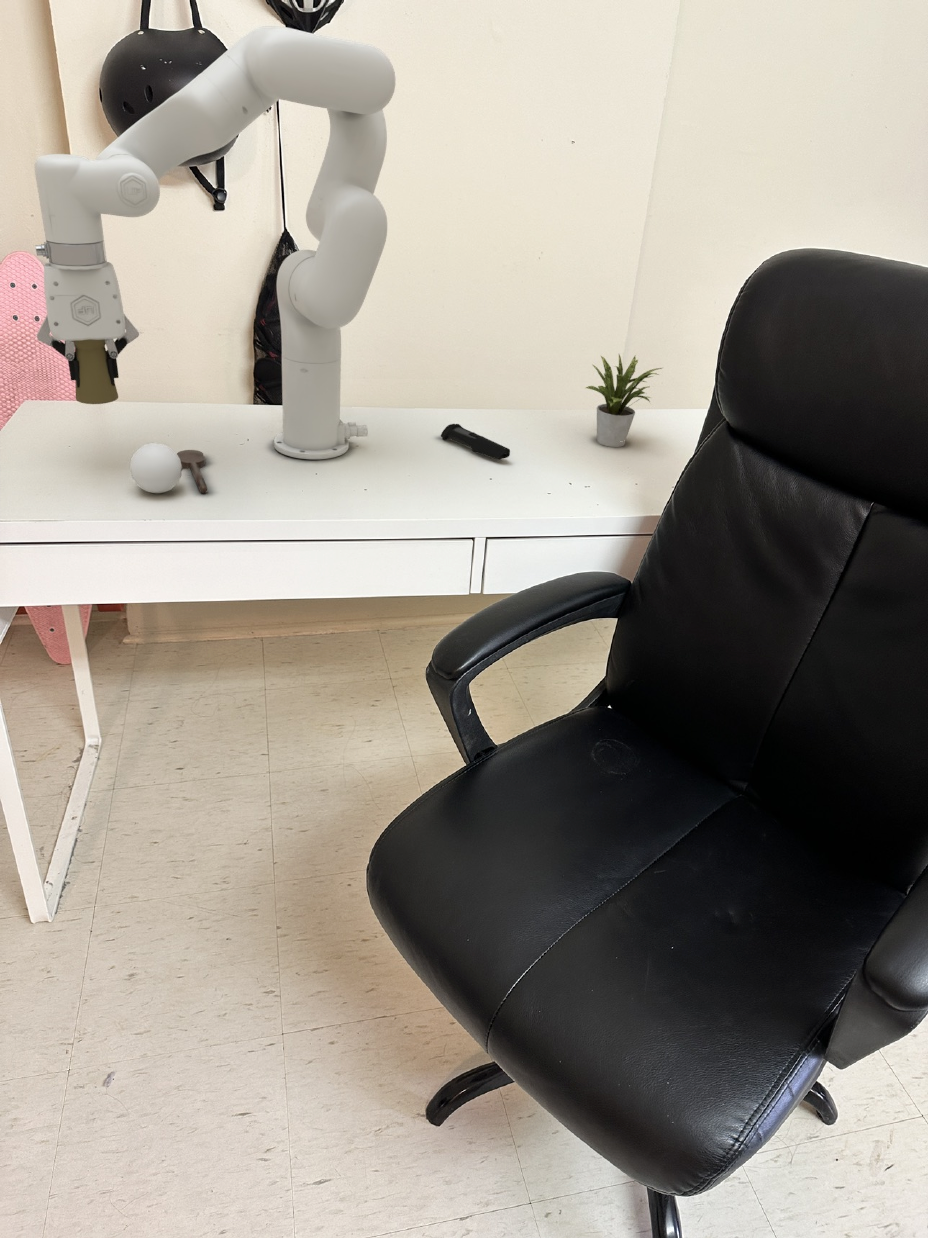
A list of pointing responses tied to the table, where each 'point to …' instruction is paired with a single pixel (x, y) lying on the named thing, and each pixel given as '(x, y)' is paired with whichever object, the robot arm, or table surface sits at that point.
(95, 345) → the cork
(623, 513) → the table surface
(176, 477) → the white ovoid
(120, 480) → the table surface
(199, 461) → the wooden spoon
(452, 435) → the electric trimmer
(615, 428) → the house plant
